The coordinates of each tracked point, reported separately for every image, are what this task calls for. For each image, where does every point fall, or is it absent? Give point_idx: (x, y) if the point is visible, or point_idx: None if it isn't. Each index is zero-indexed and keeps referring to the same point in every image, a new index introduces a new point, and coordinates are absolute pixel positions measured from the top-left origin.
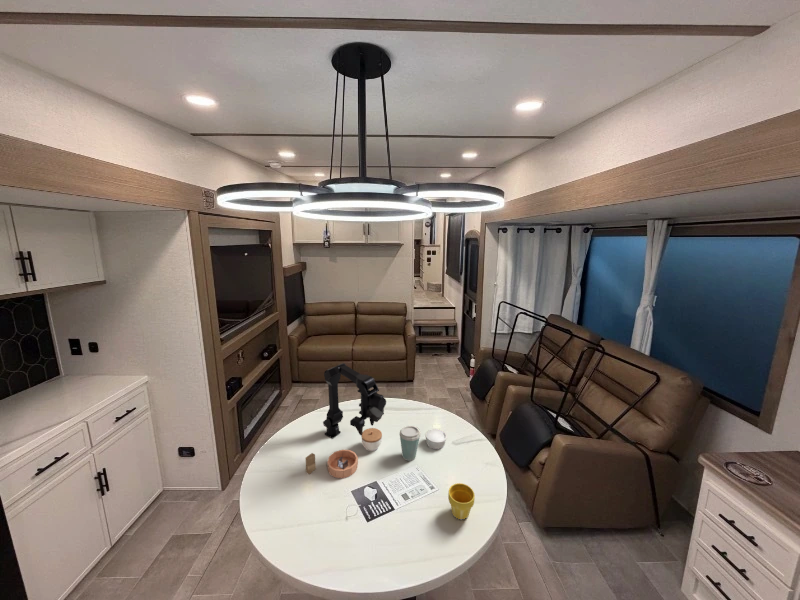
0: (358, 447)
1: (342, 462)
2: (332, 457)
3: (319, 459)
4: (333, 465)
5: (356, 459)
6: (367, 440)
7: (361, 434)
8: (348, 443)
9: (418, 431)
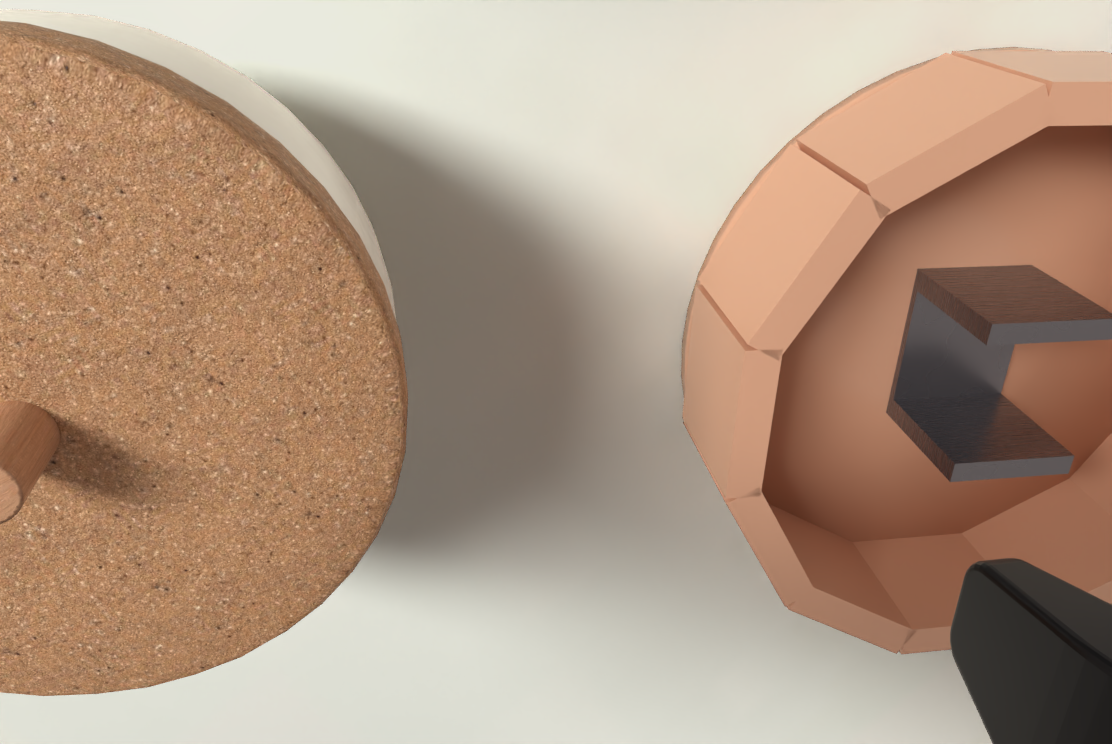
0: None
1: (898, 401)
2: None
3: (925, 690)
4: None
5: (933, 171)
6: (387, 332)
7: (1088, 594)
8: (395, 645)
9: None
